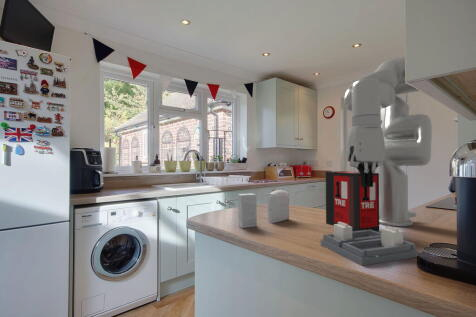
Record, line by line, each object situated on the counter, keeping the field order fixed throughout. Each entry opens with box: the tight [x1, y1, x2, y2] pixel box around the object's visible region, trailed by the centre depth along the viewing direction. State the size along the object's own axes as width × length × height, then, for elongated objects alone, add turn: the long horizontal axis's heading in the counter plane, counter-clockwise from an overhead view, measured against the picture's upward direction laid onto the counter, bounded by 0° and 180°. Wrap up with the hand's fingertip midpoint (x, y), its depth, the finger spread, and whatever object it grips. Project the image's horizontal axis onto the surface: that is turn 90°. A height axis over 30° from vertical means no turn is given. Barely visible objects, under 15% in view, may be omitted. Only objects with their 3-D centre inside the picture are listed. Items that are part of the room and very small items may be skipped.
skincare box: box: [237, 192, 258, 229], centre depth 98 cm, size 6×4×12 cm
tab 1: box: [333, 222, 352, 241], centre depth 74 cm, size 3×4×5 cm
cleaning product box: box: [325, 170, 380, 233], centre depth 96 cm, size 16×9×20 cm, turn 20°
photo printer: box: [267, 189, 290, 224], centre depth 107 cm, size 10×4×12 cm, turn 133°
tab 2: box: [380, 225, 404, 247], centre depth 69 cm, size 3×4×5 cm
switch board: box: [320, 230, 420, 266], centre depth 72 cm, size 18×16×3 cm
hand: (366, 186), depth 76 cm, fingers closed
